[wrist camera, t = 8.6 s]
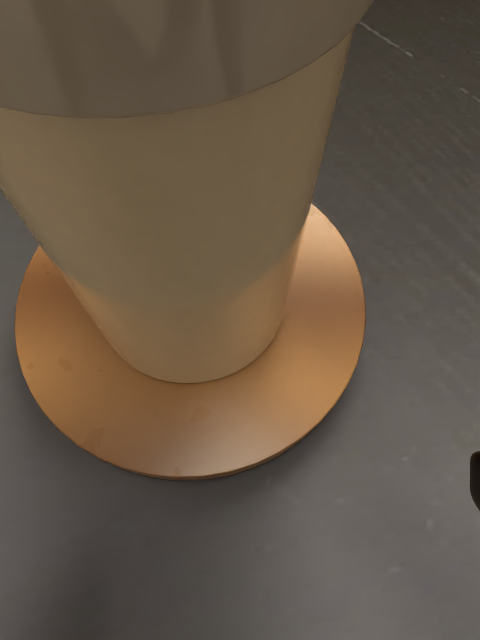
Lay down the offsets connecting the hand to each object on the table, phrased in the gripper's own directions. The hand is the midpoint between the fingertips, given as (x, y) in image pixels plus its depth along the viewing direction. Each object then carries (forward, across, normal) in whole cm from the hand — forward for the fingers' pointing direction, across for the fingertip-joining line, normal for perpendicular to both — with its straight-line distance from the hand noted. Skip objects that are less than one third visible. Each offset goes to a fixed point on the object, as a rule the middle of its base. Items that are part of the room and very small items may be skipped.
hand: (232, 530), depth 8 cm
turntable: (+11, 0, -1) cm, 11 cm away
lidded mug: (+11, 0, -3) cm, 11 cm away
